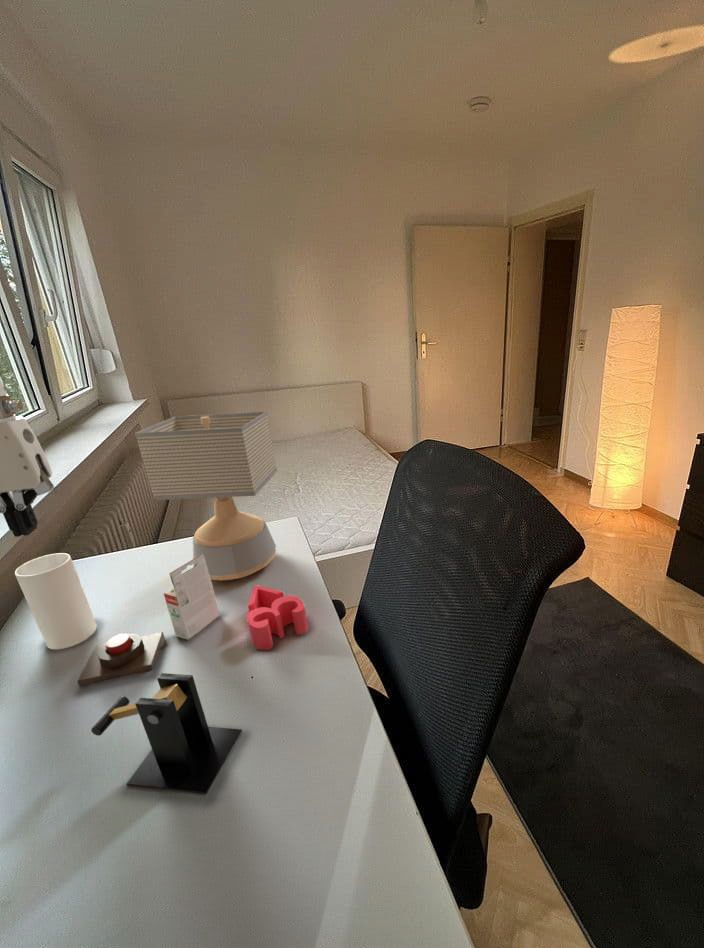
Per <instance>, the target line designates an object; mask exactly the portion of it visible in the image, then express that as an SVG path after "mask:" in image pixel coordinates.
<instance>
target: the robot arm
mask: <svg viewBox="0 0 704 948" xmlns="http://www.w3.org/2000/svg"><path fill="white" fill-rule="evenodd" d="M23 409H24V405H23V403H22V401H21V400H14V399H12V398H11V396H10V395H8V392H7V390H6V387H5V384H4V381H3V380H2V376H1V375H0V514H2V515H3V518H4V520H5V522H6V524H7V527H8V530H10V531H12V534H13V536H14V537H15V538H18V537H22V536H24V537H25V536H29V535H30V534H32V533H33V532H34V531H35V530H36V529H38V519H37V517H36V514H35V511H34V509H33V506H32V504H34V502H35V500H36V498H38V496H41V495H44V494H47V493H49V492H51V491H52V490H54V488H55V485H54V484H53V482H52V481H51V480H50V478H51V477H52V476H53V470H52V468H51V465H50V462H49V460H48V458H47V456H46V454H45V451H44V450H43V448H42V445H41V444H40V442H39V439H38V437H37V436H36V434H35V433H34V431H33V430H32V428H31V426H30V425H29V423H28V421H27V420H26V419H25V417H24V416H16V414H17V411H22V410H23Z"/></svg>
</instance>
